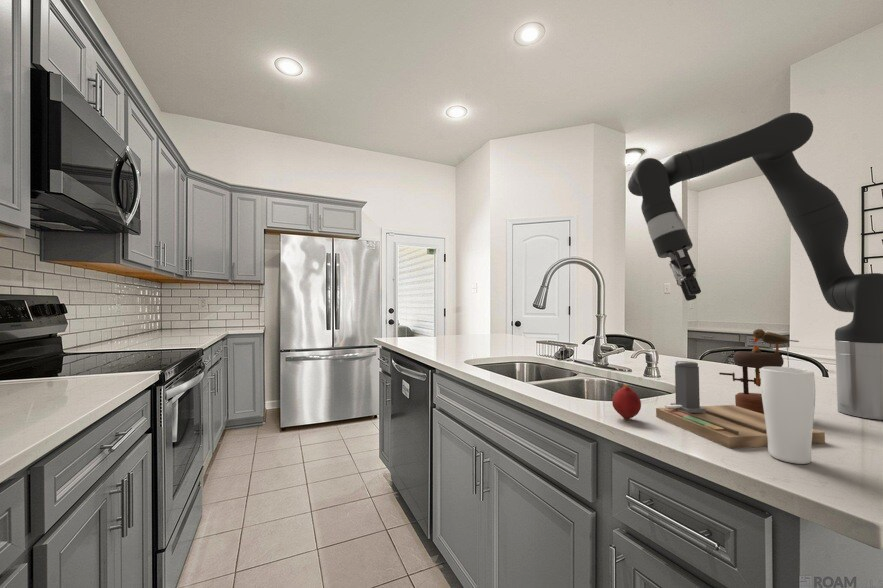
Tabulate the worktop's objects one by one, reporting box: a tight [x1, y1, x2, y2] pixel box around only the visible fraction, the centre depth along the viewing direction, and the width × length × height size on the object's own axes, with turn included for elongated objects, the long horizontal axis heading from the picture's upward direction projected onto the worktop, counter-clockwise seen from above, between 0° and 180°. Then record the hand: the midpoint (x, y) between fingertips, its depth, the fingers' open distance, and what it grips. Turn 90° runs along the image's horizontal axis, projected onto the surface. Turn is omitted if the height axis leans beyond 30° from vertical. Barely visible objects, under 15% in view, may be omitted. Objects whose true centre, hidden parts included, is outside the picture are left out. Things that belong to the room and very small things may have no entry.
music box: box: [718, 328, 800, 414], centre depth 89 cm, size 15×11×20 cm
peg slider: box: [664, 360, 706, 413], centre depth 83 cm, size 7×5×11 cm
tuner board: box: [655, 404, 826, 449], centre depth 77 cm, size 20×19×3 cm
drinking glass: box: [760, 366, 816, 465], centre depth 62 cm, size 7×7×15 cm
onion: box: [611, 383, 642, 421], centre depth 84 cm, size 6×6×8 cm
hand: (693, 297), depth 86 cm, fingers open, 8 cm apart
